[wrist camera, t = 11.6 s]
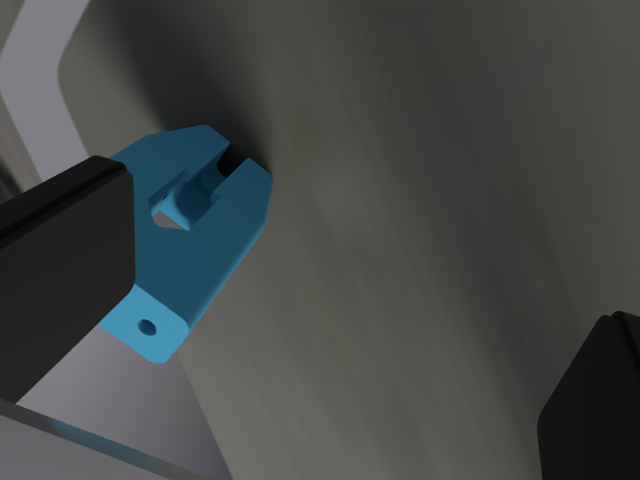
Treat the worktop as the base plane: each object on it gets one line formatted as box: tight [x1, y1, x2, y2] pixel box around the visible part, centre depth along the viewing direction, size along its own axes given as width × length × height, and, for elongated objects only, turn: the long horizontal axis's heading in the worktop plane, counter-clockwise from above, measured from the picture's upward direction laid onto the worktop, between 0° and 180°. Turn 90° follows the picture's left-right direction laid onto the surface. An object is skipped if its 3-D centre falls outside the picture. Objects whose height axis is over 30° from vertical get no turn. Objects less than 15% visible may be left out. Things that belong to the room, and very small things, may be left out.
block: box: [98, 124, 273, 364], centre depth 39 cm, size 12×5×20 cm, turn 54°
